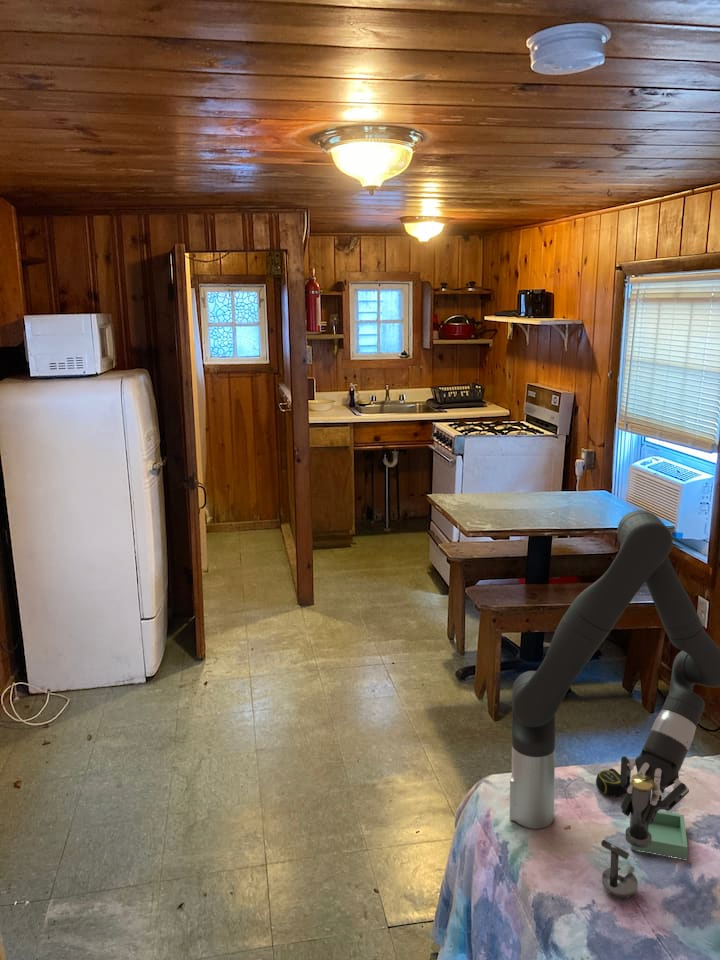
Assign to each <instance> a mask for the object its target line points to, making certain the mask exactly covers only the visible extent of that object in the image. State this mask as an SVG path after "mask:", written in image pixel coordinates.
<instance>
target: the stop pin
mask: <svg viewBox="0 0 720 960" xmlns="http://www.w3.org/2000/svg"><path fill="white" fill-rule="evenodd" d="M630 783H631V785H632V800H631V812H630V814H629V819H630V820H629V826H628V827H627V828H625V835H624V837H625V838H624V839H625V841H626V842H627V843H628V844H629V845H630V846H631V845H633V846H635V847H639V848H646V847H648V846H650V845H651V839H652V836H651V833H650V832H649V831H648V827H649V825H648V826H645V825H643V824H642V823H641V820H642V817H643V815H644V813H645V810H646V808H647V806H648V804H651V797H652V789H653V780H652V779H651V778H650V777H648V776H646V775H643V774H637V773H636V774H633V775H632V776H631V779H630Z"/></svg>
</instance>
